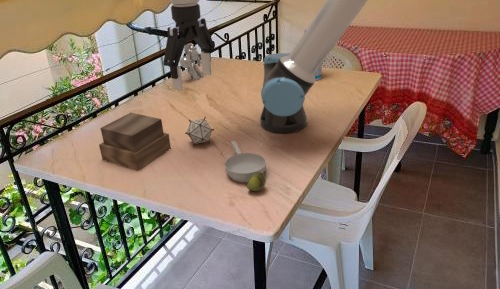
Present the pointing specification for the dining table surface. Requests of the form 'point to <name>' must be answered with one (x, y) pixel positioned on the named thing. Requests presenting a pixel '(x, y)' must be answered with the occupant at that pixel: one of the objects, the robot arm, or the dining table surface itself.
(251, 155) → the saucepan
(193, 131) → the game die
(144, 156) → the walnut tower base
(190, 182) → the dining table surface
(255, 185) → the lime
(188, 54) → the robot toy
